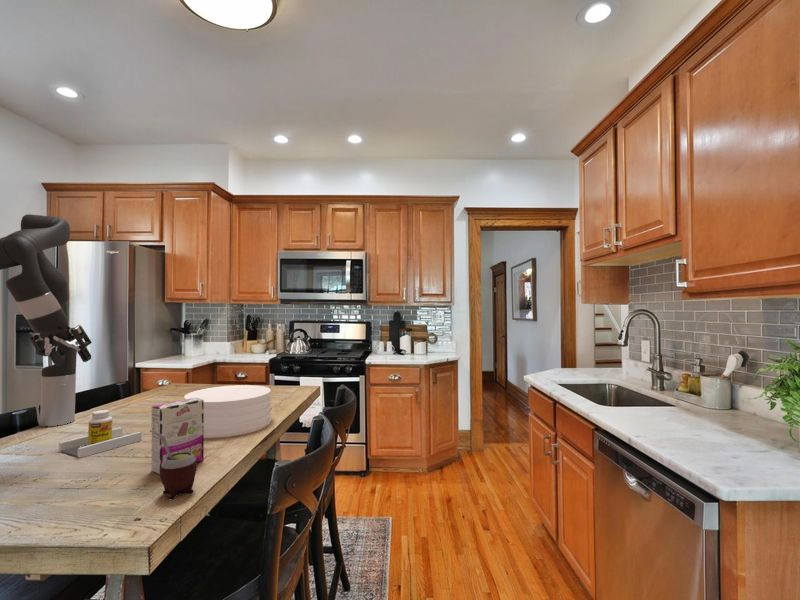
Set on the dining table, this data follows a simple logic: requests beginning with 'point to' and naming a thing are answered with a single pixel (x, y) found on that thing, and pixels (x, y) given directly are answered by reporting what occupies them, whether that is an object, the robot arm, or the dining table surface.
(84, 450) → the trap channel
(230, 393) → the plate stack
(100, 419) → the supplement bottle
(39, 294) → the robot arm
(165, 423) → the candy bar box
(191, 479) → the mate gourd
